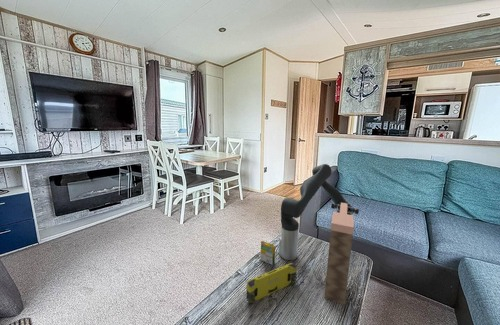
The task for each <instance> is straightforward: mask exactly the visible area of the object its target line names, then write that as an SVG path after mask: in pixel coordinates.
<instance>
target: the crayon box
mask: <svg viewBox="0 0 500 325" xmlns="http://www.w3.org/2000/svg"><path fill="white" fill-rule="evenodd" d="M259 259H260V261H262V262H265V263H267V264H270V265H271V266H273V264H274V263H275V261H276V245H275V244H274V243H273V244H272V243H270V242H267V241H263V240H260V258H259Z"/></svg>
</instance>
